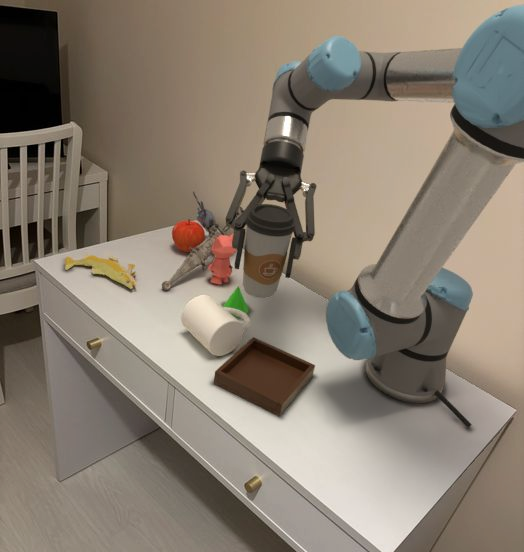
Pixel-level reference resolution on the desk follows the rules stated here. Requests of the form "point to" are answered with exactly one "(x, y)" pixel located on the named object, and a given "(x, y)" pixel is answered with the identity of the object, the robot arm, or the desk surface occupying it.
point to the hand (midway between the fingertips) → (262, 271)
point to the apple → (187, 235)
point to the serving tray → (264, 375)
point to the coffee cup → (266, 248)
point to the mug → (214, 324)
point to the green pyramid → (237, 302)
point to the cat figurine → (221, 259)
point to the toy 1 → (106, 268)
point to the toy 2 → (205, 216)
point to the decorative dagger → (199, 253)
